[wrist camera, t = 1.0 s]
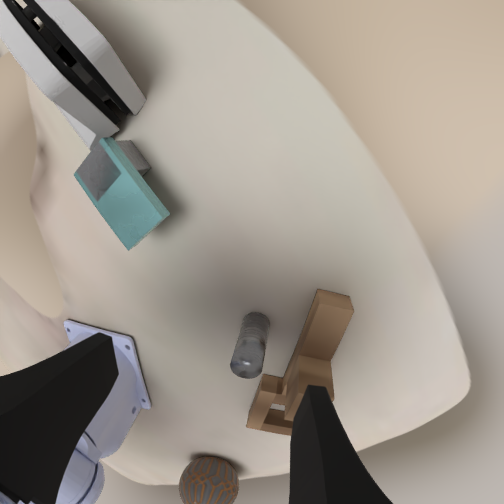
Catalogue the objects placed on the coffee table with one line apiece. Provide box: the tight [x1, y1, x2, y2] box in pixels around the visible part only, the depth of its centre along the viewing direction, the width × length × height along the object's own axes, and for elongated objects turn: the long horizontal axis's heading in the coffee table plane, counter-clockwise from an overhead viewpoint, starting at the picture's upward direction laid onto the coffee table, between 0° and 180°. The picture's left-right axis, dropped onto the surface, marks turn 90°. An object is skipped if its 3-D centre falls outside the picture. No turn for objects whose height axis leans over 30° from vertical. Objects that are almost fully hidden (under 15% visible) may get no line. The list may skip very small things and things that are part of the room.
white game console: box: [0, 0, 146, 151], centre depth 10 cm, size 17×5×10 cm, turn 41°
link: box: [246, 289, 354, 436], centre depth 18 cm, size 14×5×5 cm, turn 168°
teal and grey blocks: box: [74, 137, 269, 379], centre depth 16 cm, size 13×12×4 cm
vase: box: [179, 457, 239, 504], centre depth 24 cm, size 7×7×9 cm
